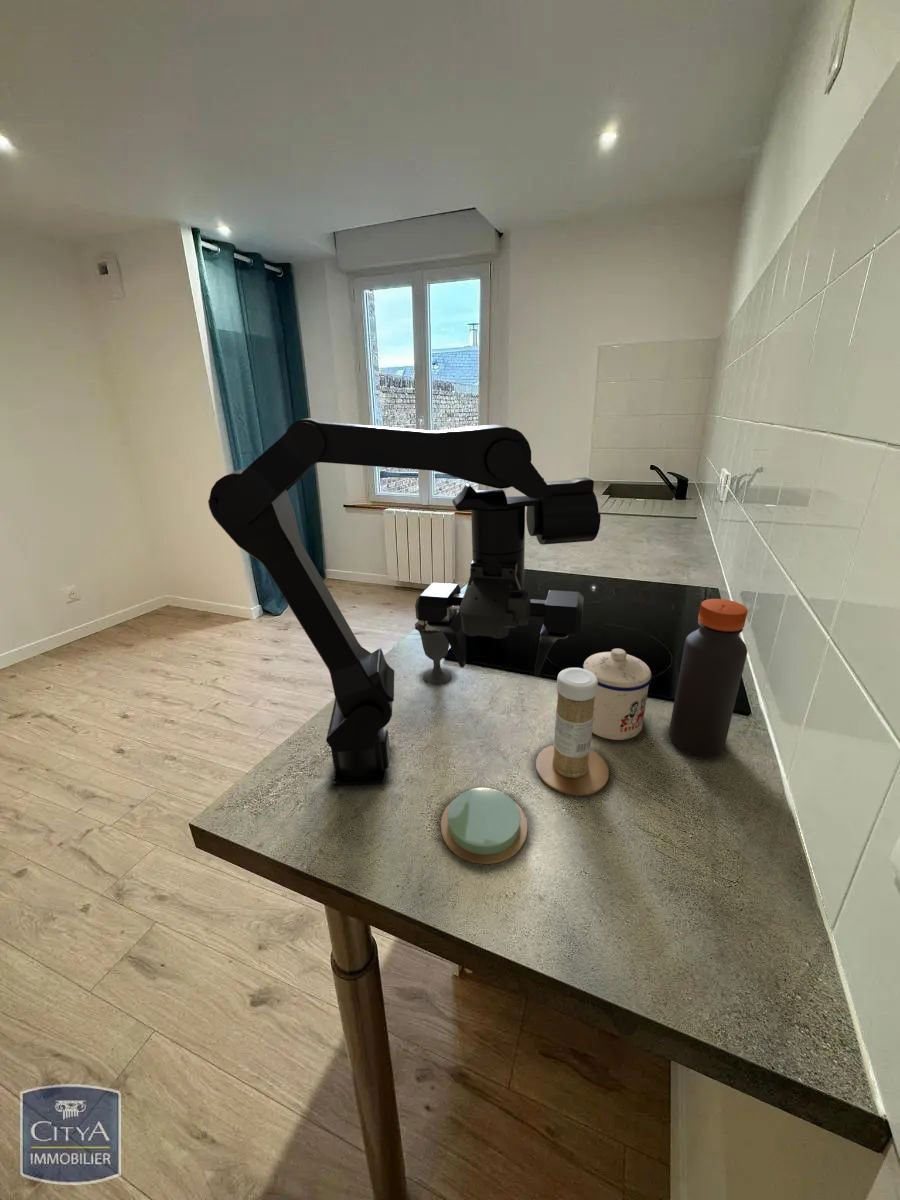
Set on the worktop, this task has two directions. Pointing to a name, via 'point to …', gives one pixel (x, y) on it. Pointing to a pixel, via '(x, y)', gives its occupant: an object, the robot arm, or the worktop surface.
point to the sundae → (434, 652)
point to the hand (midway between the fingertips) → (499, 670)
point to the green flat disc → (484, 821)
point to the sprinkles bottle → (574, 721)
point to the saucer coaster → (478, 857)
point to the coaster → (573, 786)
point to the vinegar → (709, 679)
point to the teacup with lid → (618, 693)
